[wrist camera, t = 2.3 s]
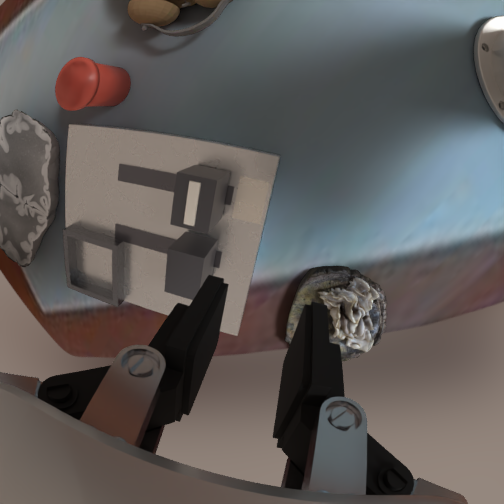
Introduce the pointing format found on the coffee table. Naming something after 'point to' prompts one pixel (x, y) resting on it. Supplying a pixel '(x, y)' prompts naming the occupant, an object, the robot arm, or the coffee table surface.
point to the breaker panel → (156, 214)
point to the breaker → (189, 264)
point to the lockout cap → (90, 84)
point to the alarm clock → (171, 14)
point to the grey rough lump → (343, 308)
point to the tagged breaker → (199, 198)
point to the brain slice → (26, 185)
